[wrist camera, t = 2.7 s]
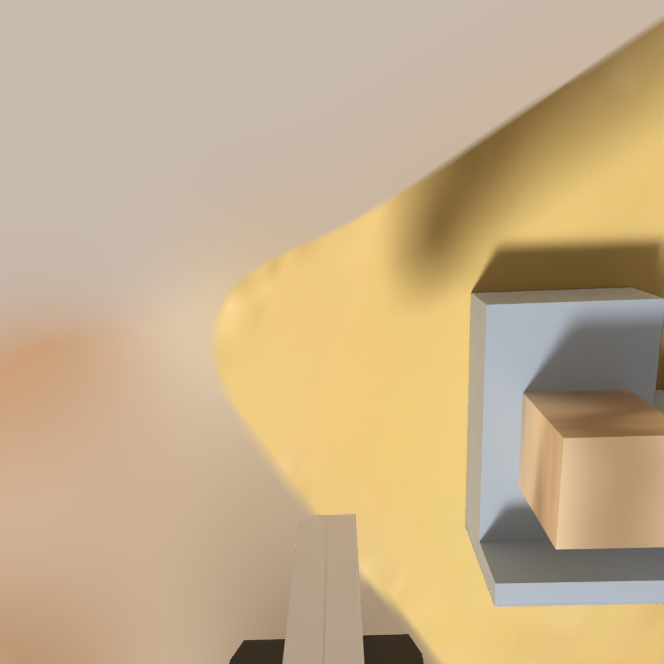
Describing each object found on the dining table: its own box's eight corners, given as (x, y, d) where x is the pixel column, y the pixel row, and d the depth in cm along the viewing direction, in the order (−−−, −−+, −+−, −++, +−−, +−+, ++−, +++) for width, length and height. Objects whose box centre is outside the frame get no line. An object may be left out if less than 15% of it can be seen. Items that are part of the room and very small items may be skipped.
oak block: (628, 389, 21) (694, 434, 17) (619, 484, 22) (679, 547, 18) (522, 392, 21) (563, 438, 17) (518, 486, 22) (556, 549, 18)
